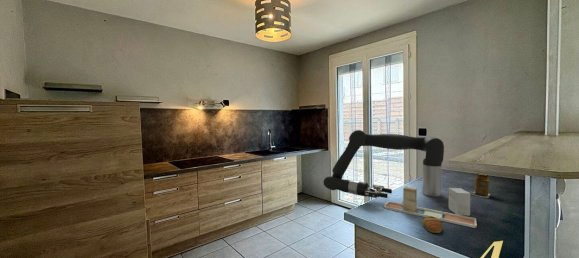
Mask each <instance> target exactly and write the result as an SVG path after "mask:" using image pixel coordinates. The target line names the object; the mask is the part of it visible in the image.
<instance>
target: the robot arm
mask: <svg viewBox="0 0 579 258" xmlns="http://www.w3.org/2000/svg"><path fill="white" fill-rule="evenodd" d="M348 141H349V142H348V144H347V146H346V148H345V150H344V151H343V152H342V153H341V155H340V156H339V158H338V159H337V161H336V163H335V164H334V166H333V167H332V176H326V177H325V178H324V179H323V181H322V182H323V185H324V187H325V188H326V189H328V190H331V191H340V192H343V193H346V194H347V193H348V194H352V195H355V196H360V197H365V198H366V197H368V198H369V197H370V198H374V199H378V198H383V199H388V194H391V195H392V193H393V190H392V188H387V187H385V186H383V185H377V184H372V185H371V186H370V185H369V183H368V182H365V181H359V180H351V179H343V177H344V174H345V173H346V171H347V170H348V167H349V166H350V164H351V162H352V160H353V158H354V157H355V155H356V154H357V152H359V150H360V148H361V147H373V148H374V147H375V148H380V149H387V150H397V151H398V150H399V151H401V150H402V151H403V150H417V151H422V152H425V157H424V159H423V160H422V188H421V189H422V190H421V191H422V194H423V195H425V196H429V197H436V198H437V197H441V196H442V168H443V167H442V165H443V161H444V155H445V145H444V141H442V140H441V139H440V138H439V137H434V136H433V137H432V136H427V137H426V136H419V137H417V136H410V135H404V134H399V133H377V134H372V133H366V132H364V131H363V130H362V129H356V130H354V131H352V132H351V133H350V135H349V137H348Z"/></svg>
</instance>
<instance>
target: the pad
mask: <svg viewBox="0 0 579 258" xmlns="http://www.w3.org/2000/svg"><path fill="white" fill-rule="evenodd" d="M423 214H425V215H430V216H435V217H439V218H443V214H440V213H435V212H430V211H424V212H423Z"/></svg>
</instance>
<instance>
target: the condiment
mask: <svg viewBox="0 0 579 258" xmlns="http://www.w3.org/2000/svg"><path fill="white" fill-rule="evenodd" d="M474 180H475V181H474V182H475V183H474V191H473V193H472V194H471V195H472V196H477V197H481V198H486V199H489V198H490V196H491V193H489V190H490V180H489V175H488V174H487V173H481V172H479V173H476V174H475V179H474Z"/></svg>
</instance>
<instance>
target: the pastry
mask: <svg viewBox="0 0 579 258" xmlns="http://www.w3.org/2000/svg"><path fill="white" fill-rule="evenodd" d="M422 226H423V227H424V228H425V229H426V230H427V231H428V232H430V233H436V234H440V233H442V231H443V225H442V221H440V220H438V219H437V218H435V217H433V216H428V217H423V219H422Z"/></svg>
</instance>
